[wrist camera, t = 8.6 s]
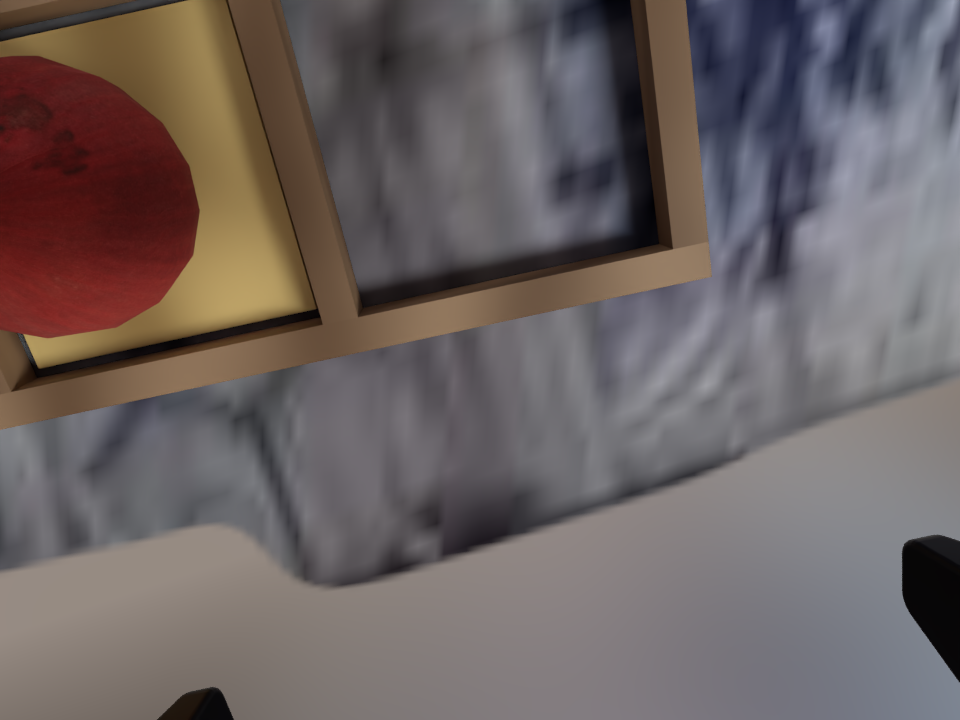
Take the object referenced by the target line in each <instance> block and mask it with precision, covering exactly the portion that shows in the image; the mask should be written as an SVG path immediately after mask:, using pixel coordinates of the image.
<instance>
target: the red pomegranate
mask: <svg viewBox="0 0 960 720" xmlns="http://www.w3.org/2000/svg"><path fill="white" fill-rule="evenodd" d="M199 214H200V209H199V205H198V200H197V196H196V192H195V188H194V183H193V179H192V175H191V171H190V167H189V164H188V163H187V161H186V160H185V158H184V156H183V155H182V153H181V152H180V150H179V148H178V147H177V145H176V144H175V142H174V140H173V139H172V137H171V136H170V134H169V132H168V131H167V129H166V128H165V126H164V124H163V123H162V122H161V121H160V120H158V119H157V118H156V117H155V116H154V115H152V114H151V113H150V112H149V111H147V110H146V109H145V108H144V107H143V106H141V105H140V104H139V103H138V102H136V101H135V100H134V99H133V98H132V97H130V96H129V95H128V94H127V93H126V92H124V91H123V90H122V89H121V88H119V87H118V86H116V85H114V84H112V83H110V82H109V81H107V80H105V79H103V78H101V77H99V76H96V75H93V74H90V73H87V72H84V71H81V70H79V69H76V68H73V67H70V66H67V65H64V64H61V63H58V62H55V61H52V60H49V59H46V58H43V57H41V56H7V57H0V330H5V331H10V332H15V333H20V334H26V335H31V336H37V337H42V338H54V337H61V336H67V335H73V334H79V333H86V332H92V331H98V330H105V329H111V328H117V327H118V326H120V325H122V324H124V323H125V322H127V321H129V320H130V319H132V318H134V317H136V316H137V315H139V314H141V313H142V312H144V311H146V310H148V309H149V308H151V307H153V306H154V305H156V304H158V303H159V302H160V301H161V300H162V299H163V297H164V296H165V295H166V294H167V292H168V291H169V290H170V288H171V287H172V285H173V284H174V282H175V281H176V279H177V278H178V277H179V275H180V274H181V272H182V271H183V269H184V268H185V267H186V265H187V264H188V262H189V261H190V259H191V258H192V257H193V254H194V247H195V240H196V234H197V227H198V220H199Z"/></svg>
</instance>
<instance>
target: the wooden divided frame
mask: <svg viewBox="0 0 960 720" xmlns="http://www.w3.org/2000/svg"><path fill="white" fill-rule="evenodd" d="M131 1H136V0H0V30H5V29H9V28H14V27H18V26H23V25H27V24H32V23H36V22H41V21H45V20H50V19H55V18H59V17H64V16H68V15H73V14H77V13H82V12H86V11H91V10H95V9H100V8H104V7H109V6H113V5H118V4H122V3H127V2H131ZM228 2H229V3H228ZM630 2H631V10H632V19H633V27H634V36H635V44H636V52H637V61H638V69H639V78H640V86H641V95H642V103H643V111H644V120H645V128H646V137H647V145H648V154H649V162H650V170H651V179H652V187H653V196H654V204H655V213H656V221H657V229H658V238H659V244H657V245H652V246H648V247H643V248H638V249H634V250H629V251H625V252H620V253H615V254H611V255H606V256H601V257H597V258H592V259H587V260H583V261H578V262H574V263H569V264H564V265H560V266H555V267H550V268H546V269H541V270H537V271H532V272H527V273H523V274H518V275H513V276H509V277H504V278H499V279H495V280H490V281H486V282H481V283H476V284H472V285H467V286H462V287H458V288H453V289H448V290H444V291H439V292H435V293H430V294H425V295H421V296H416V297H411V298H407V299H402V300H397V301H393V302H388V303H384V304H379V305H374V306H370V307H365V308H363V306H362V302H361V298H360V295H359V291H358V287H357V284H356V280H355V276H354V273H353V269H352V265H351V261H350V258H349V254H348V250H347V247H346V243H345V239H344V236H343V232H342V228H341V225H340V221H339V217H338V213H337V210H336V206H335V202H334V199H333V195H332V191H331V188H330V184H329V180H328V176H327V173H326V169H325V165H324V162H323V158H322V154H321V151H320V147H319V143H318V139H317V136H316V132H315V128H314V125H313V121H312V117H311V114H310V110H309V106H308V103H307V99H306V95H305V91H304V88H303V84H302V80H301V77H300V73H299V69H298V66H297V62H296V58H295V54H294V51H293V47H292V43H291V40H290V36H289V32H288V29H287V25H286V21H285V18H284V14H283V10H282V6H281V3H280V0H187V1H182V2H178V3H173V4H169V5H164V6H160V7H155V8H151V9H146V10H142V11H137V12H133V13H128V14H124V15H119V16H115V17H110V18H106V19H101V20H96V21H92V22H87V23H83V24H78V25H74V26H69V27H65V28H60V29H56V30H51V31H47V32H42V33H38V34H33V35H29V36H24V37H20V38H15V39H11V40H6V41H2V42H0V57H7V56H41V57H43V58H46V59H49V60H52V61H55V62H58V63H61V64H64V65H67V66H70V67H73V68H76V69H79V70H81V71H84V72H87V73H90V74H93V75H96V76H99V77H101V78H103V79H105V80H107V81H109V82H110V83H112V84H114V85H116V86H118V87H119V88H121V89H122V90H123V91H124V92H126V93H127V94H128V95H129V96H130V97H132V98H133V99H134V100H135V101H136V102H138V103H139V104H140V105H141V106H143V107H144V108H145V109H146V110H147V111H149V112H150V113H151V114H152V115H154V116H155V117H156V118H157V119H158V120H160V121H161V122H162V123H163V124H164V126H165V128H166V129H167V131H168V132H169V134H170V136H171V137H172V139H173V140H174V142H175V144H176V145H177V147H178V148H179V150H180V152H181V153H182V155H183V156H184V158H185V160H186V161H187V163H188V164H189V167H190V171H191V175H192V179H193V183H194V188H195V192H196V196H197V200H198V205H199V209H200V214H199V220H198V227H197V234H196V240H195V247H194V254H193V257H192V258H191V259H190V261H189V262H188V264H187V265H186V267H185V268H184V269H183V271H182V272H181V274H180V275H179V277H178V278H177V279H176V281H175V282H174V284H173V285H172V287H171V288H170V290H169V291H168V292H167V294H166V295H165V296H164V297H163V299H162V300H161V301H160V302H159V303H158V304H156V305H154V306H153V307H151V308H149V309H148V310H146V311H144V312H142V313H141V314H139V315H137V316H136V317H134V318H132V319H130V320H129V321H127V322H125V323H124V324H122V325H120V326H118V327H117V328H111V329H105V330H98V331H92V332H86V333H79V334H73V335H67V336H61V337H54V338H42V337H37V336H31V335H26V334H23V335H24V337H25V339H26V342H27V344H28V346H29V348H30V351H31V353H32V355H33V357H34V359H35V362H36V364H37V366H38V368H39V369H41V368H45V367H50V366H55V365H59V364H64V363H68V362H73V361H78V360H82V359H87V358H92V357H96V356H101V355H106V354H110V353H115V352H119V351H124V350H129V349H133V348H138V347H143V346H147V345H152V344H156V343H161V342H166V341H170V340H175V339H180V338H184V337H189V336H194V335H198V334H203V333H207V332H212V331H217V330H221V329H226V328H231V327H235V326H240V325H244V324H249V323H254V322H258V321H263V320H268V319H272V318H277V317H282V316H286V315H291V314H295V313H300V312H305V311H309V310H314V309H317V308H318V309H319V313H320V316H321V317H319V318H314V319H309V320H305V321H300V322H295V323H291V324H286V325H282V326H277V327H272V328H268V329H263V330H258V331H254V332H249V333H244V334H240V335H235V336H231V337H226V338H221V339H217V340H212V341H207V342H203V343H198V344H193V345H189V346H184V347H180V348H175V349H170V350H166V351H161V352H156V353H152V354H147V355H143V356H138V357H133V358H129V359H124V360H119V361H115V362H110V363H105V364H101V365H96V366H92V367H87V368H82V369H78V370H73V371H68V372H64V373H59V374H54V375H50V376H45V377H41V378H37V377H36V374H35V372H34V370H33V368H32V366H31V363H30V361H29V359H28V357H27V354H26V352H25V350H24V348H23V346H22V343H21V341H20V339H19V337H18V334H17V333H15V332H10V331H5V330H0V430H1V429H6V428H10V427H15V426H20V425H24V424H29V423H34V422H38V421H43V420H48V419H52V418H57V417H61V416H66V415H71V414H75V413H80V412H85V411H89V410H94V409H99V408H103V407H108V406H113V405H117V404H122V403H127V402H131V401H136V400H141V399H145V398H150V397H154V396H159V395H164V394H168V393H173V392H178V391H182V390H187V389H192V388H196V387H201V386H206V385H210V384H215V383H220V382H224V381H229V380H234V379H238V378H243V377H247V376H252V375H257V374H261V373H266V372H271V371H275V370H280V369H285V368H289V367H294V366H299V365H303V364H308V363H313V362H317V361H322V360H327V359H331V358H336V357H340V356H345V355H350V354H354V353H359V352H364V351H368V350H373V349H378V348H382V347H387V346H392V345H396V344H401V343H406V342H410V341H415V340H420V339H424V338H429V337H433V336H438V335H443V334H447V333H452V332H457V331H461V330H466V329H471V328H475V327H480V326H485V325H489V324H494V323H499V322H503V321H508V320H513V319H517V318H522V317H526V316H531V315H536V314H540V313H545V312H550V311H554V310H559V309H564V308H568V307H573V306H578V305H582V304H587V303H592V302H596V301H601V300H606V299H610V298H615V297H619V296H624V295H629V294H633V293H638V292H643V291H647V290H652V289H657V288H661V287H666V286H671V285H675V284H680V283H685V282H689V281H694V280H699V279H703V278H708V277H712V274H711V264H710V253H709V243H708V232H707V222H706V211H705V201H704V190H703V179H702V169H701V158H700V148H699V137H698V127H697V116H696V106H695V95H694V84H693V74H692V63H691V53H690V42H689V32H688V21H687V11H686V0H630ZM229 6H230V7H229ZM230 9H231V10H230ZM232 16H233V17H232ZM233 19H234V20H233ZM234 23H235V24H234ZM235 26H236V27H235ZM236 30H237V31H236ZM237 33H238V34H237ZM238 36H239V37H238ZM239 40H240V41H239ZM240 43H241V44H240ZM241 47H242V48H241ZM242 50H243V51H242ZM243 53H244V54H243ZM244 57H245V58H244ZM245 60H246V61H245ZM246 64H247V65H246ZM247 67H248V68H247ZM249 74H250V75H249ZM250 77H251V78H250ZM251 81H252V82H251ZM252 84H253V85H252ZM253 88H254V89H253ZM254 91H255V92H254ZM255 94H256V95H255ZM256 98H257V99H256ZM257 101H258V102H257ZM258 105H259V106H258ZM259 108H260V109H259ZM260 111H261V112H260ZM261 115H262V116H261ZM262 118H263V119H262ZM263 122H264V123H263ZM264 125H265V126H264ZM266 132H267V133H266ZM267 135H268V136H267ZM268 139H269V140H268ZM269 142H270V143H269ZM270 146H271V147H270ZM271 149H272V150H271ZM272 152H273V153H272ZM273 156H274V157H273ZM274 159H275V160H274ZM275 163H276V164H275ZM276 166H277V167H276ZM277 169H278V170H277ZM278 173H279V174H278ZM279 176H280V177H279ZM280 180H281V181H280ZM281 183H282V184H281ZM283 190H284V191H283ZM284 193H285V194H284ZM285 197H286V198H285ZM286 200H287V201H286ZM288 207H289V208H288ZM289 210H290V211H289ZM290 214H291V215H290ZM291 217H292V218H291ZM292 221H293V222H292ZM293 224H294V225H293ZM294 227H295V228H294ZM295 231H296V232H295ZM296 234H297V235H296ZM297 238H298V239H297ZM298 241H299V242H298ZM300 248H301V249H300ZM301 251H302V252H301ZM302 255H303V256H302ZM303 258H304V259H303ZM305 265H306V266H305ZM306 268H307V269H306ZM307 272H308V273H307ZM308 275H309V276H308ZM309 279H310V280H309ZM310 282H311V283H310ZM311 285H312V286H311ZM312 289H313V290H312ZM313 292H314V293H313ZM314 296H315V297H314ZM315 299H316V300H315ZM317 306H318V307H317Z"/></svg>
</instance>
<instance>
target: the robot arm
mask: <svg viewBox="0 0 960 720" xmlns="http://www.w3.org/2000/svg"><path fill="white" fill-rule="evenodd" d="M902 593H903V599H904V602H905V605H906V607H907V609H908V611H909V612H910V614H911V615H912V617H913V618H914V620H915V621H916V623H917V624H918V625H919V627H920V628H921V630H922V631H923V632H924V634H925V635H926V636H927V638H928V639H929V641H930V642H931V643H932V645H933V646H934V647H935V649H936V650H937V652H938V653H939V654H940V656H941V657H942V659H943V660H944V661H945V663H946V664H947V666H948V667H949V668H950V670H951V671H952V673H953V674H954V675H955V677H956V678H957V679H958V681H959V682H960V541H958V540H955V539H952V538H949V537H945V536H942V535H931V536H926V537H921V538H917V539H912V540H909V541H908V542H906V543H905V544H904V546H903V550H902ZM157 720H234V719H233V716H232V714H231V712H230V709H229V707H228V705H227V702H226V700H225V698H224V695H223V694H222V692H221V691H220V690H219V689H218V688H215V687H210V688H205V689H201V690H196V691H191V692H188V693H186V694H184V695H182V696H181V697H180V698H179V699H178V700H177V701H176V702H175V703H174V704H173V705H172V706H171V707H170V708H169V709H168V710H167V711H166V712H165V713H164V714H163V715H162V716H160V717H159V718H158V719H157Z"/></svg>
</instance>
